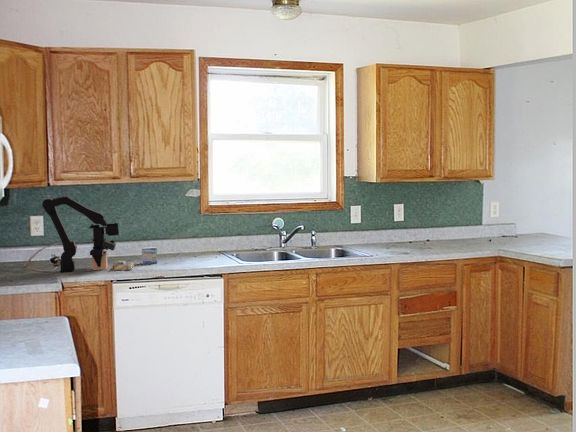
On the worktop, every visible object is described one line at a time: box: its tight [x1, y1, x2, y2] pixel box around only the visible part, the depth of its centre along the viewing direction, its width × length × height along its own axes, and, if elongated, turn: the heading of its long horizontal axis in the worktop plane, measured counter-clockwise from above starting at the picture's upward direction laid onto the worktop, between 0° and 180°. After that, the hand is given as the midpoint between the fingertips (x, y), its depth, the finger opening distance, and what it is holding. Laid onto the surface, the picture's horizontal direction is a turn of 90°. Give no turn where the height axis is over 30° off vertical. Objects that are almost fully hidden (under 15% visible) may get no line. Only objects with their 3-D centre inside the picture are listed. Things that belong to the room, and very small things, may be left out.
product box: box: [91, 252, 109, 271], centre depth 359 cm, size 7×4×8 cm, turn 94°
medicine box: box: [141, 246, 158, 265], centre depth 375 cm, size 8×4×9 cm, turn 106°
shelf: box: [111, 261, 135, 272], centre depth 360 cm, size 10×11×3 cm
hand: (100, 266), depth 359 cm, fingers closed on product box, 4 cm apart
